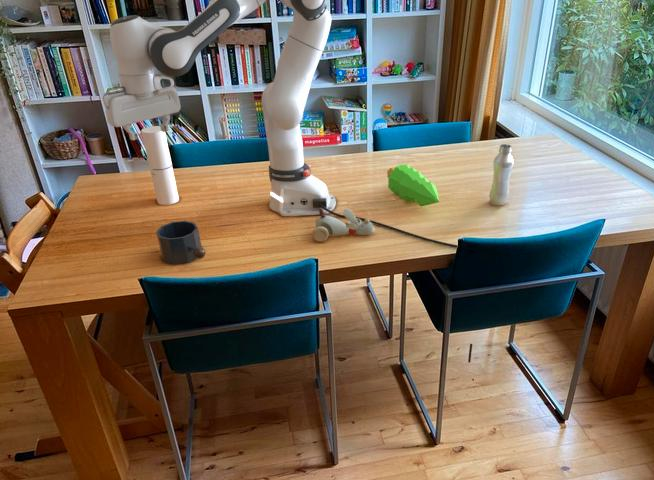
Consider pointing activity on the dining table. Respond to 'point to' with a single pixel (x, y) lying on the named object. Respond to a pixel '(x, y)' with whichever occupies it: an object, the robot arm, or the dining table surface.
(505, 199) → the plastic bottle
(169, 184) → the cylindrical container
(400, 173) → the decorative tree
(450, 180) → the dining table surface
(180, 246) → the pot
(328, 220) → the toy dog
